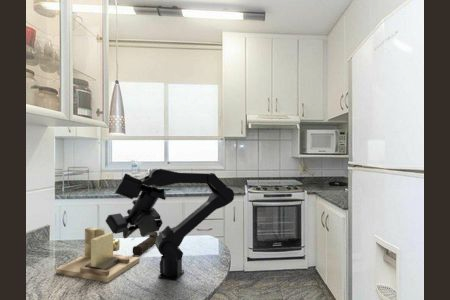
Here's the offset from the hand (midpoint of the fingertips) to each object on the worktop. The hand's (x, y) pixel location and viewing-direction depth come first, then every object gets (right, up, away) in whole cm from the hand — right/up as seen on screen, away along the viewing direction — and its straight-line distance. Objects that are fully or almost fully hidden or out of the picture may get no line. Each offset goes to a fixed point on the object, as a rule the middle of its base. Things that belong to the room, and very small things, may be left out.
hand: (124, 237), depth 83 cm
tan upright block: (-8, -11, +3) cm, 14 cm away
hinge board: (-11, -12, +4) cm, 17 cm away
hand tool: (0, -13, +24) cm, 28 cm away
